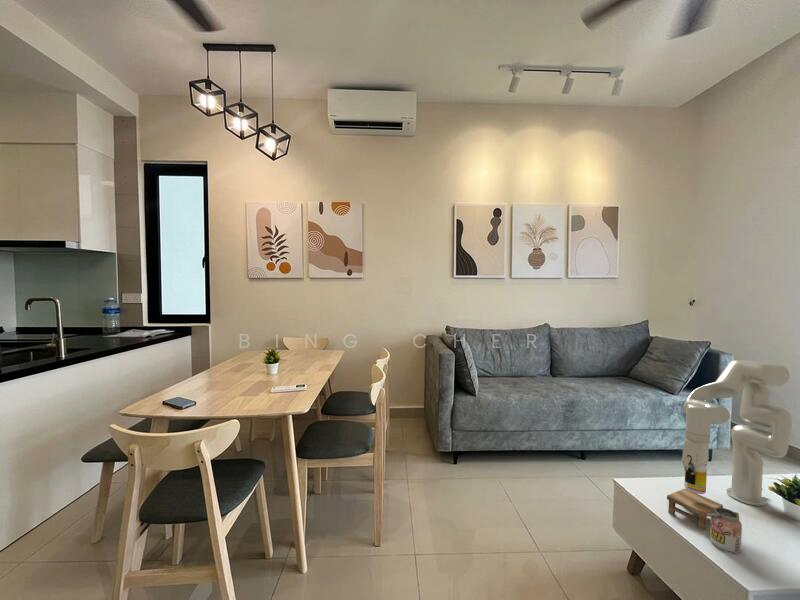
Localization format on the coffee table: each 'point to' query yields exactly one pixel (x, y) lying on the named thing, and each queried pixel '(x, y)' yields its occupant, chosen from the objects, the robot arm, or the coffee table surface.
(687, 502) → the footstool
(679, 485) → the coffee table surface
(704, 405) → the robot arm
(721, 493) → the coffee table surface
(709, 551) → the coffee table surface
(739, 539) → the pink labeled can
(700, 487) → the supplement bottle
